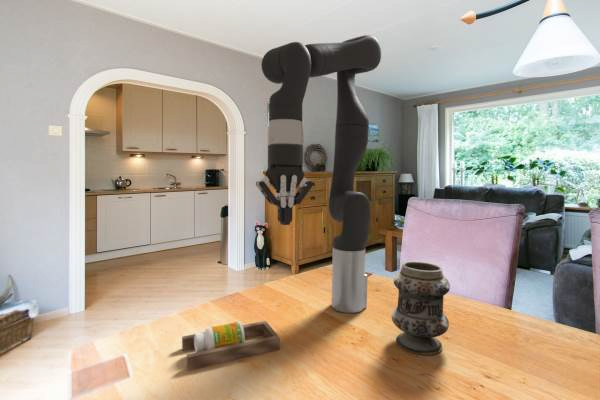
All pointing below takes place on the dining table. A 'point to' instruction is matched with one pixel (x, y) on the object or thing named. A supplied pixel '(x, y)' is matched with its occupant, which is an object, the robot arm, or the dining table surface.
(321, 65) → the robot arm
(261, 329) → the walnut U-rest
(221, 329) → the supplement bottle
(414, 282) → the apothecary jar
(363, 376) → the dining table surface
